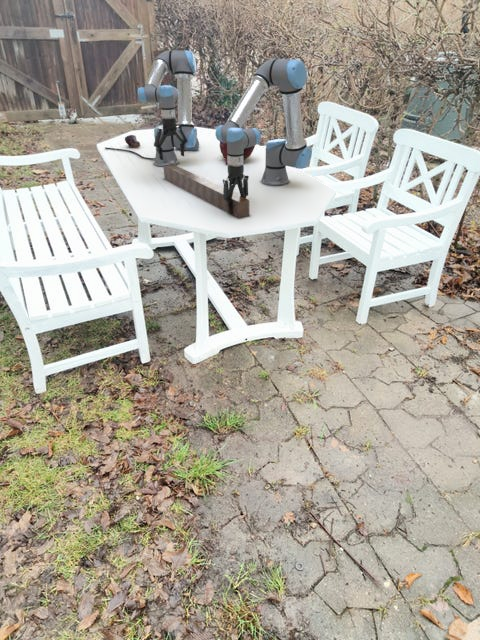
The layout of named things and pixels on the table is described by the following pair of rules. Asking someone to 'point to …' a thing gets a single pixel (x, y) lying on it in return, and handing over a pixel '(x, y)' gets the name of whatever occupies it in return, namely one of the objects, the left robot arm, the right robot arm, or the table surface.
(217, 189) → the bar
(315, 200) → the table surface
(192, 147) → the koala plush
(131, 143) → the rock
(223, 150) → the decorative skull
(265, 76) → the right robot arm
